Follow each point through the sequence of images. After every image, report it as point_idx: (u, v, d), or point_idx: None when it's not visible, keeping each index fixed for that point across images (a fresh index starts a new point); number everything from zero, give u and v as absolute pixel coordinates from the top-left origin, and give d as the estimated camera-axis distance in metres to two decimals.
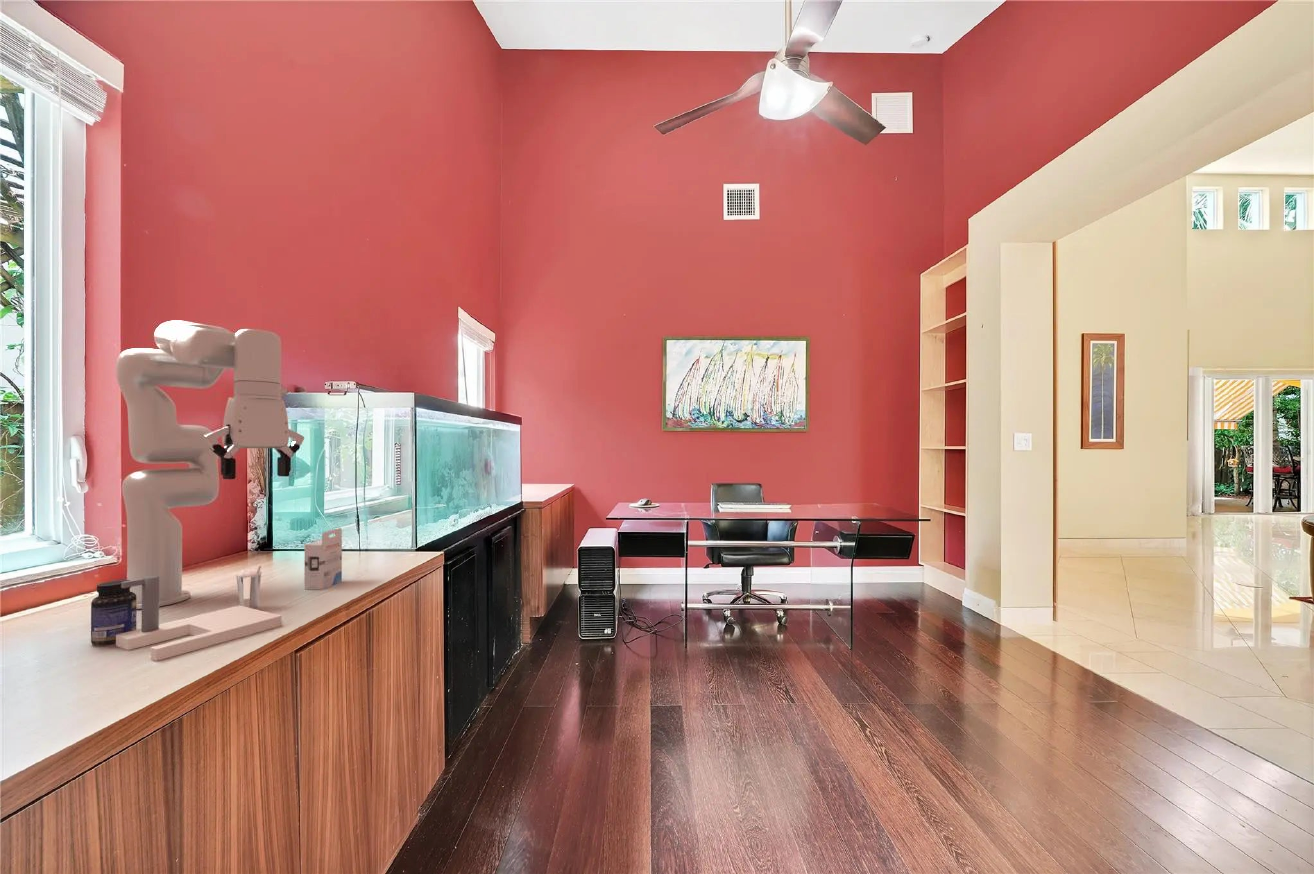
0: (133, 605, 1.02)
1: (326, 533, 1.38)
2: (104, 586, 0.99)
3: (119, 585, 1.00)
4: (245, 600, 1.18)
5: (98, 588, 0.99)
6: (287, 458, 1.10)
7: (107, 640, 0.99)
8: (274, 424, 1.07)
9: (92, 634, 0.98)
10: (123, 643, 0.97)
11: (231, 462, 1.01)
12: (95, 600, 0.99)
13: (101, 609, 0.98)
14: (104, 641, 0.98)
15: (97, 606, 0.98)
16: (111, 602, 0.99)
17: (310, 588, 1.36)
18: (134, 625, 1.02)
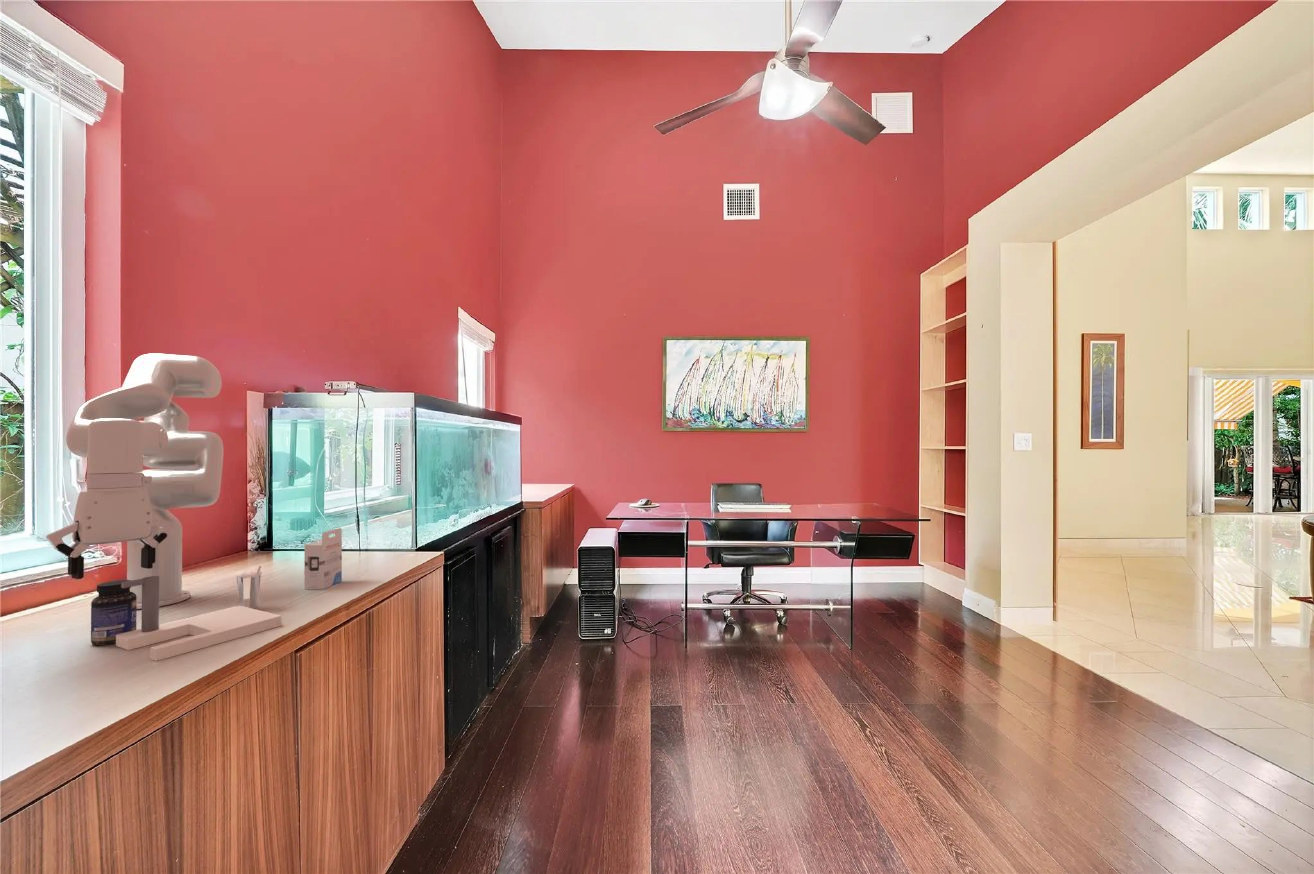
0: (133, 605, 1.02)
1: (326, 533, 1.38)
2: (104, 586, 0.99)
3: (119, 585, 1.00)
4: (245, 600, 1.18)
5: (98, 588, 0.99)
6: (150, 549, 1.04)
7: (107, 640, 0.99)
8: (133, 516, 1.02)
9: (92, 634, 0.98)
10: (123, 643, 0.97)
11: (78, 561, 0.96)
12: (95, 600, 0.99)
13: (101, 609, 0.98)
14: (104, 641, 0.98)
15: (97, 606, 0.98)
16: (111, 602, 0.99)
17: (310, 588, 1.36)
18: (134, 625, 1.02)
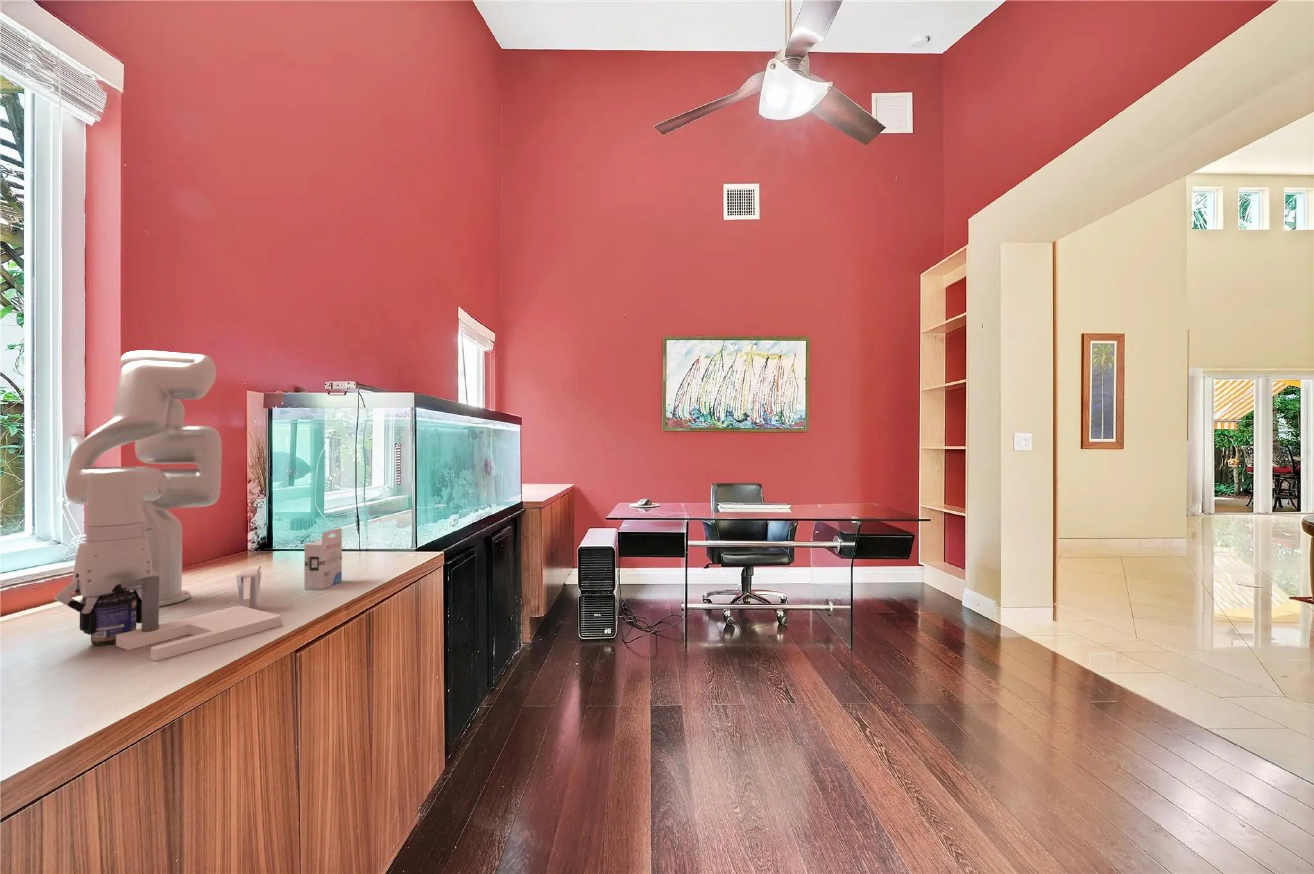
0: (133, 605, 1.02)
1: (326, 533, 1.38)
2: None
3: (119, 585, 1.00)
4: (245, 600, 1.18)
5: None
6: (141, 604, 1.04)
7: (107, 640, 0.99)
8: (133, 566, 1.02)
9: (92, 634, 0.98)
10: (123, 643, 0.97)
11: (90, 617, 0.97)
12: None
13: (101, 609, 0.98)
14: (104, 641, 0.98)
15: (97, 606, 0.98)
16: (111, 602, 0.99)
17: (310, 588, 1.36)
18: (134, 625, 1.02)
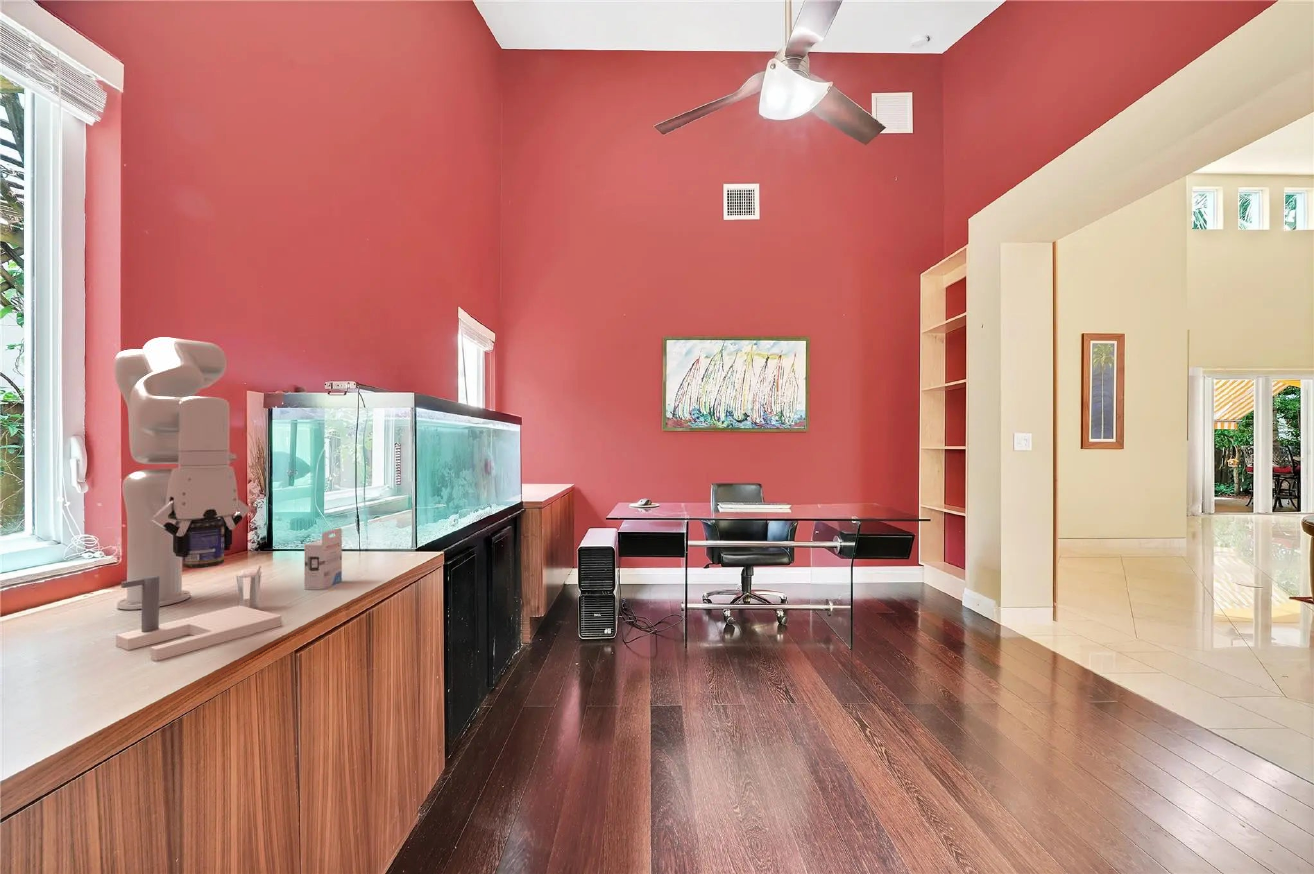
0: (222, 531, 1.04)
1: (326, 533, 1.38)
2: None
3: (210, 510, 1.02)
4: (245, 600, 1.18)
5: None
6: (228, 531, 1.05)
7: (200, 563, 1.00)
8: (221, 493, 1.03)
9: (185, 557, 1.00)
10: (123, 643, 0.97)
11: (183, 539, 0.99)
12: None
13: (194, 532, 1.00)
14: (197, 564, 1.00)
15: (190, 529, 1.00)
16: (203, 526, 1.00)
17: (310, 588, 1.36)
18: (223, 551, 1.04)
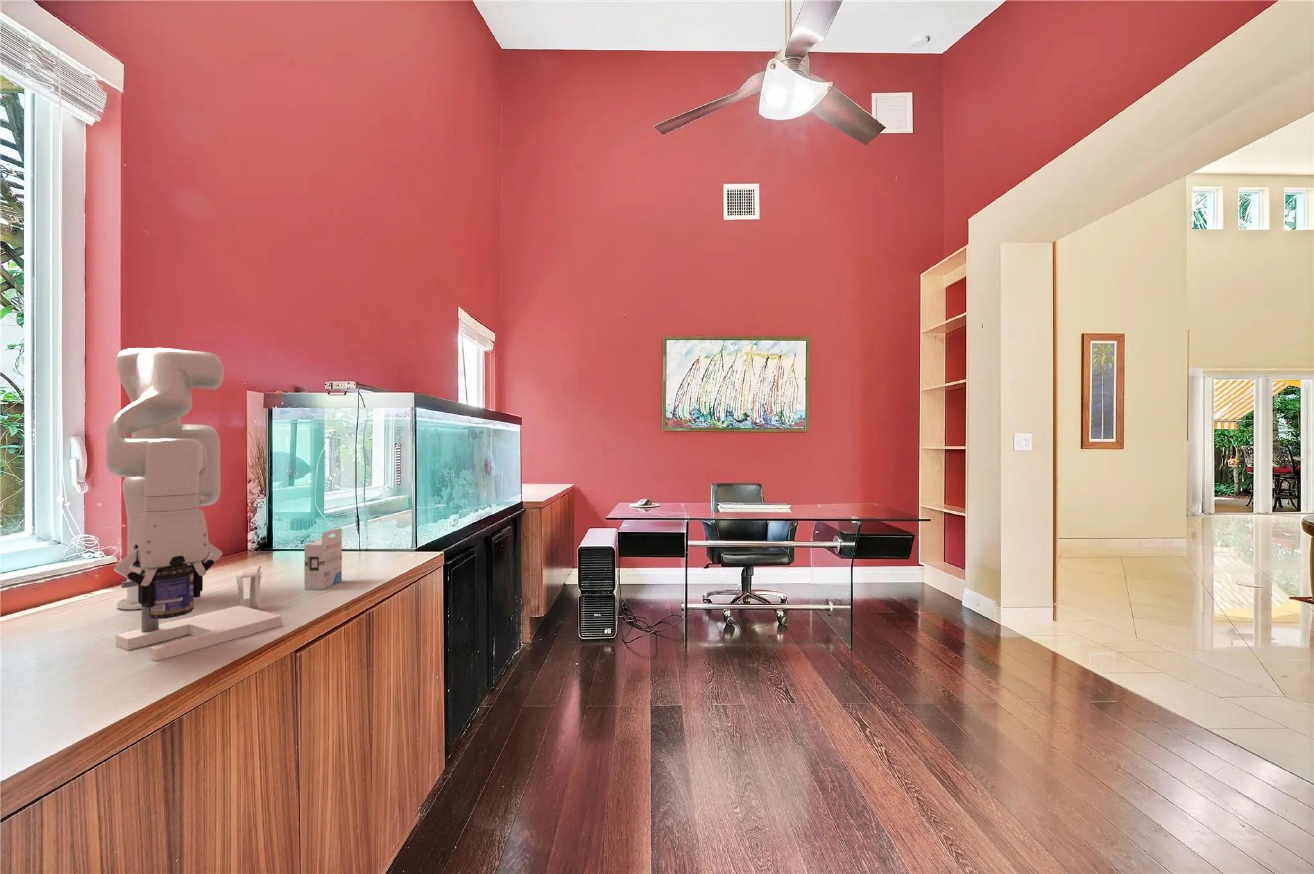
0: (191, 578, 0.99)
1: (326, 533, 1.38)
2: None
3: (177, 557, 0.97)
4: (245, 600, 1.18)
5: None
6: (197, 578, 1.01)
7: (166, 613, 0.96)
8: (190, 538, 0.99)
9: (151, 607, 0.95)
10: (123, 643, 0.97)
11: (149, 589, 0.94)
12: None
13: (160, 581, 0.95)
14: (163, 614, 0.95)
15: (156, 578, 0.95)
16: (170, 575, 0.96)
17: (310, 588, 1.36)
18: (192, 599, 0.99)
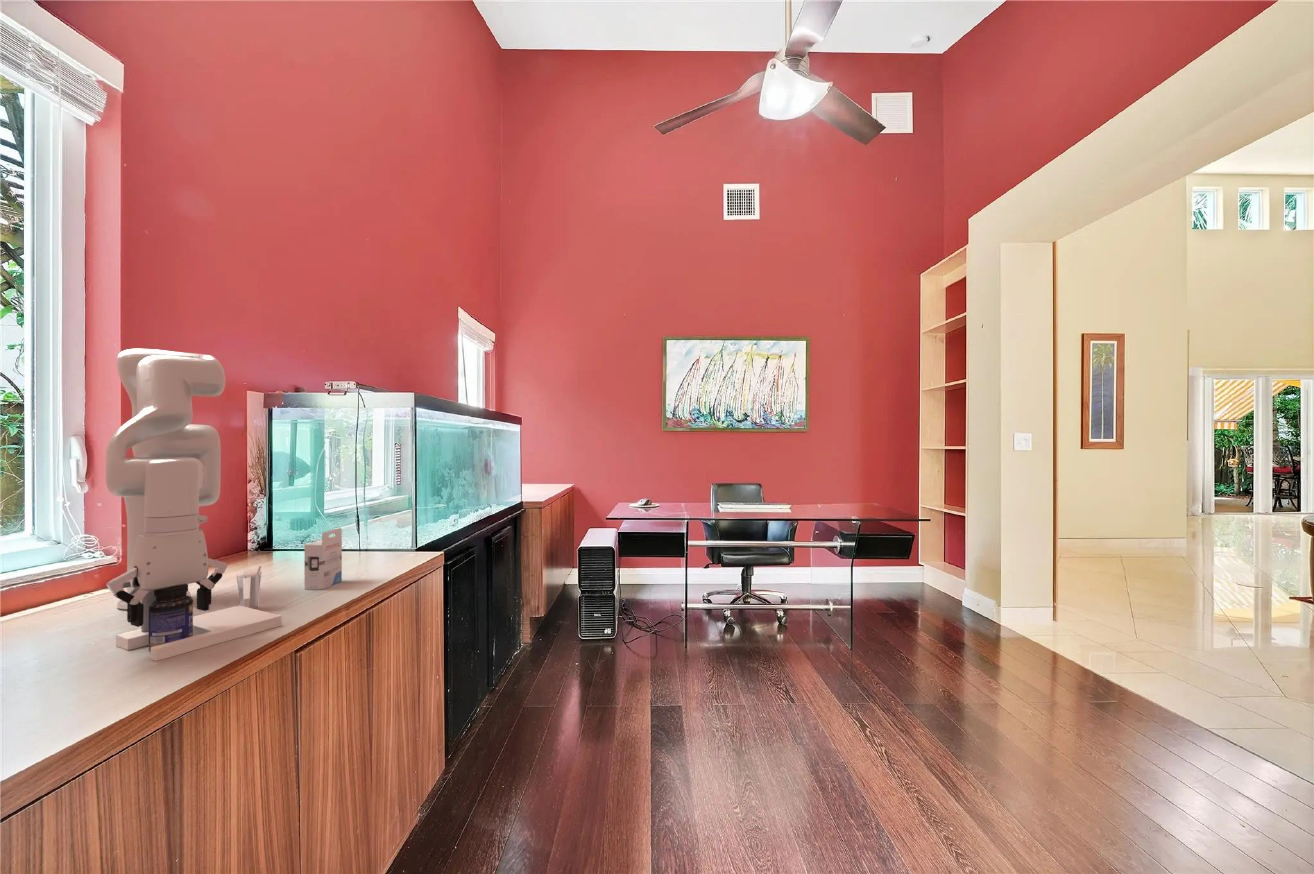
0: (190, 609, 0.99)
1: (326, 533, 1.38)
2: (162, 590, 0.96)
3: (177, 589, 0.97)
4: (245, 600, 1.18)
5: (156, 592, 0.96)
6: (206, 591, 1.02)
7: None
8: (190, 559, 0.99)
9: (150, 639, 0.96)
10: (123, 643, 0.97)
11: (138, 608, 0.93)
12: (153, 604, 0.96)
13: (159, 613, 0.95)
14: None
15: (155, 610, 0.95)
16: (169, 607, 0.96)
17: (310, 588, 1.36)
18: (191, 630, 0.99)
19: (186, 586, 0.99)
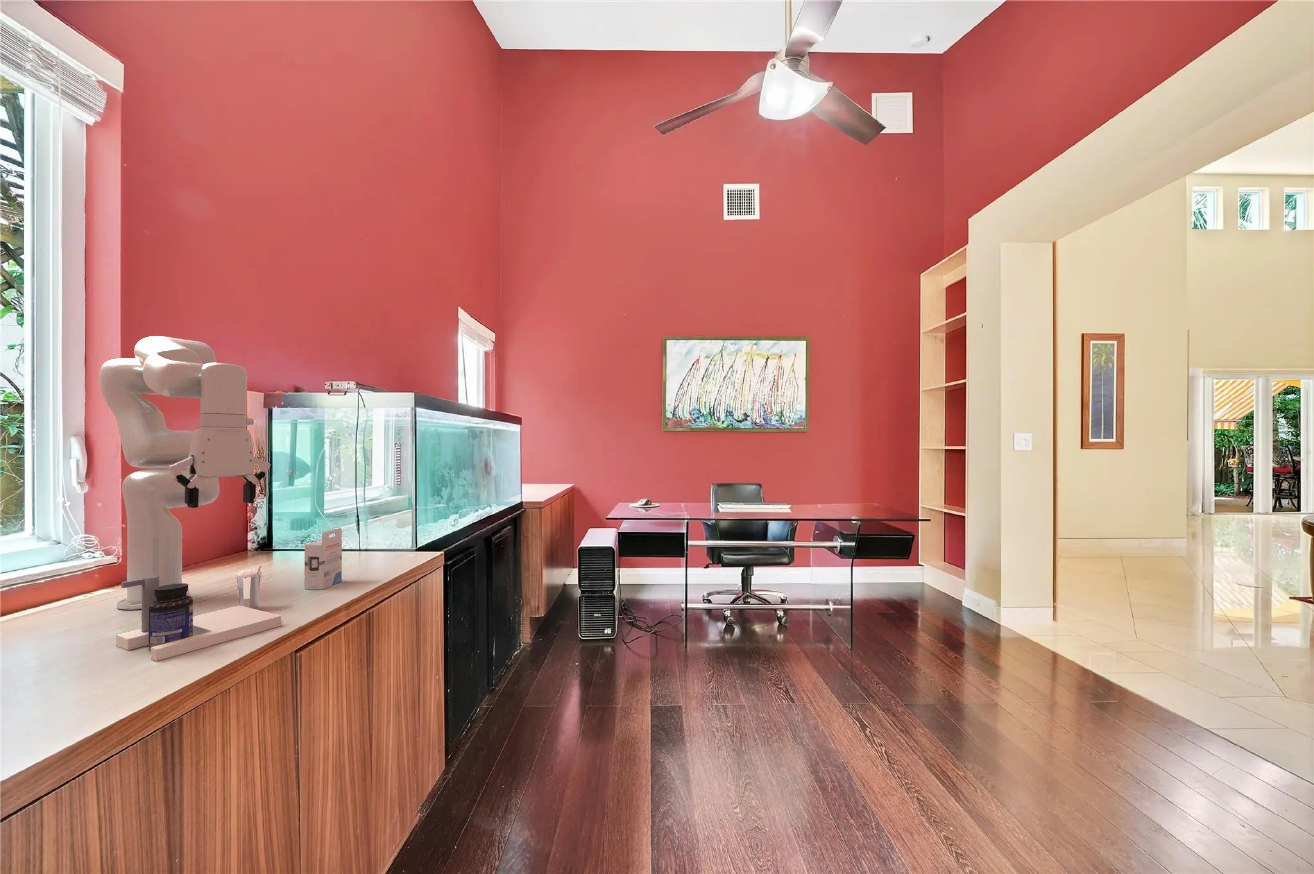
0: (190, 609, 0.99)
1: (326, 533, 1.38)
2: (162, 590, 0.96)
3: (177, 589, 0.97)
4: (245, 600, 1.18)
5: (156, 592, 0.96)
6: (252, 485, 1.14)
7: None
8: (238, 454, 1.11)
9: (150, 639, 0.96)
10: (123, 643, 0.97)
11: (194, 491, 1.05)
12: (153, 604, 0.96)
13: (159, 613, 0.95)
14: None
15: (155, 610, 0.95)
16: (169, 606, 0.96)
17: (310, 588, 1.36)
18: (191, 630, 0.99)
19: (186, 586, 0.99)
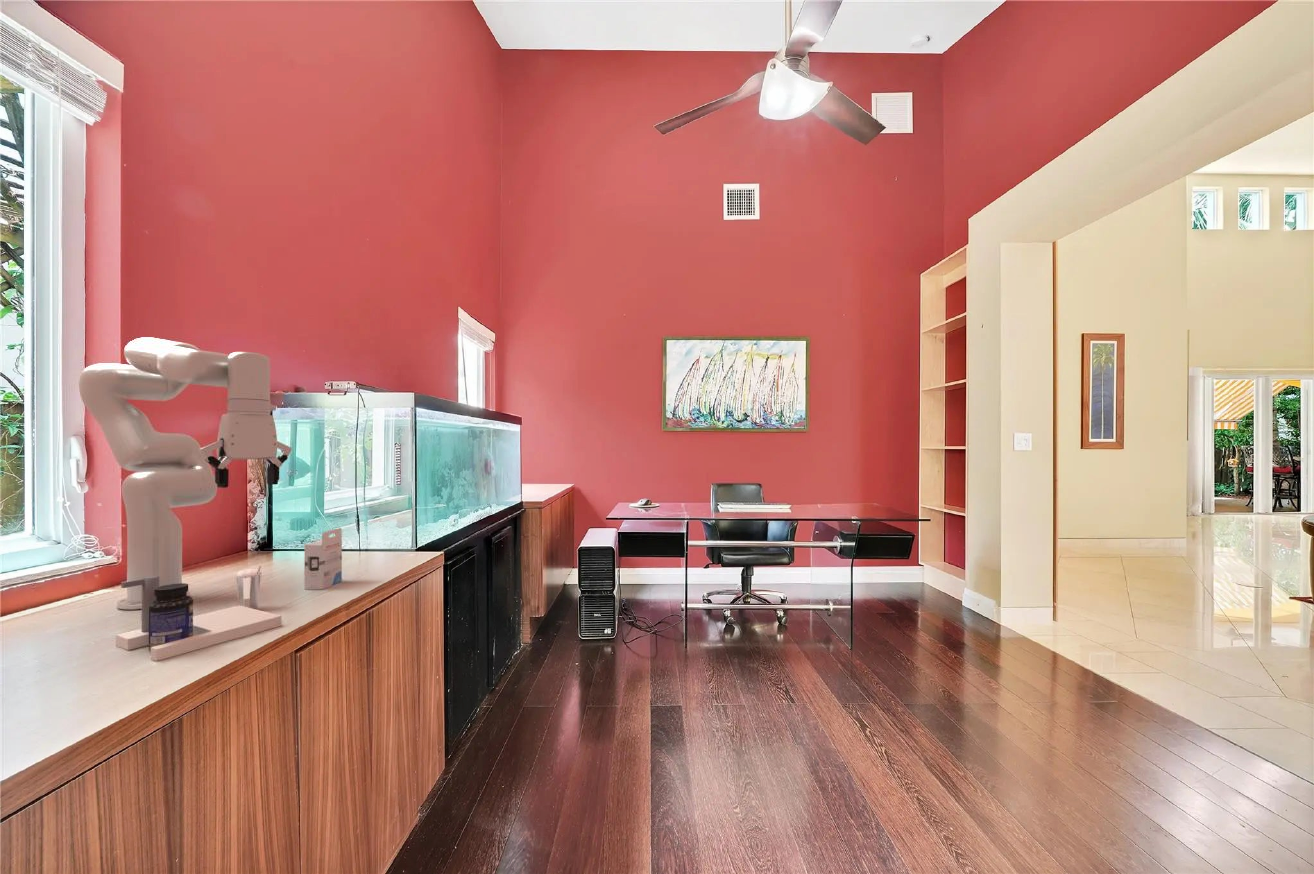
0: (190, 609, 0.99)
1: (326, 533, 1.38)
2: (162, 590, 0.96)
3: (177, 589, 0.97)
4: (245, 600, 1.18)
5: (156, 592, 0.96)
6: (276, 468, 1.21)
7: None
8: (264, 437, 1.18)
9: (150, 639, 0.96)
10: (123, 643, 0.97)
11: (224, 472, 1.12)
12: (153, 604, 0.96)
13: (159, 613, 0.95)
14: None
15: (155, 610, 0.95)
16: (169, 607, 0.96)
17: (310, 588, 1.36)
18: (191, 630, 0.99)
19: (186, 586, 0.99)
